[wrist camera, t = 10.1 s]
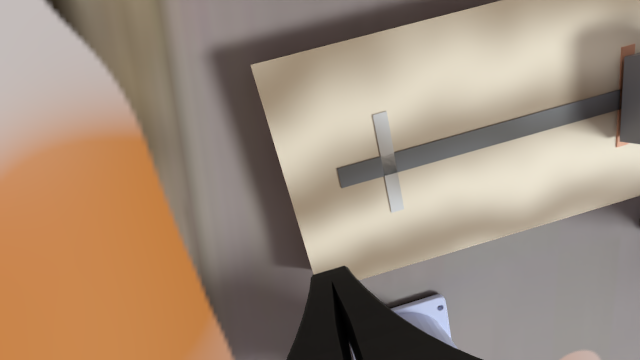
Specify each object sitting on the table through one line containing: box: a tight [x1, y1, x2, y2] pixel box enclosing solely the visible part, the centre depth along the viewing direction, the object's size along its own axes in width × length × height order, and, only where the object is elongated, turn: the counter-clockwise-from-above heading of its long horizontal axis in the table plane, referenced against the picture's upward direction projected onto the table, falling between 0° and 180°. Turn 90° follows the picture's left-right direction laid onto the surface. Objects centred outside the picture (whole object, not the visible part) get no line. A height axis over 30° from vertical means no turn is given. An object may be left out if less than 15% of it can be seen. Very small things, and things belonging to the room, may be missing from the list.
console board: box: [251, 0, 640, 280], centre depth 19 cm, size 14×26×3 cm, turn 104°
